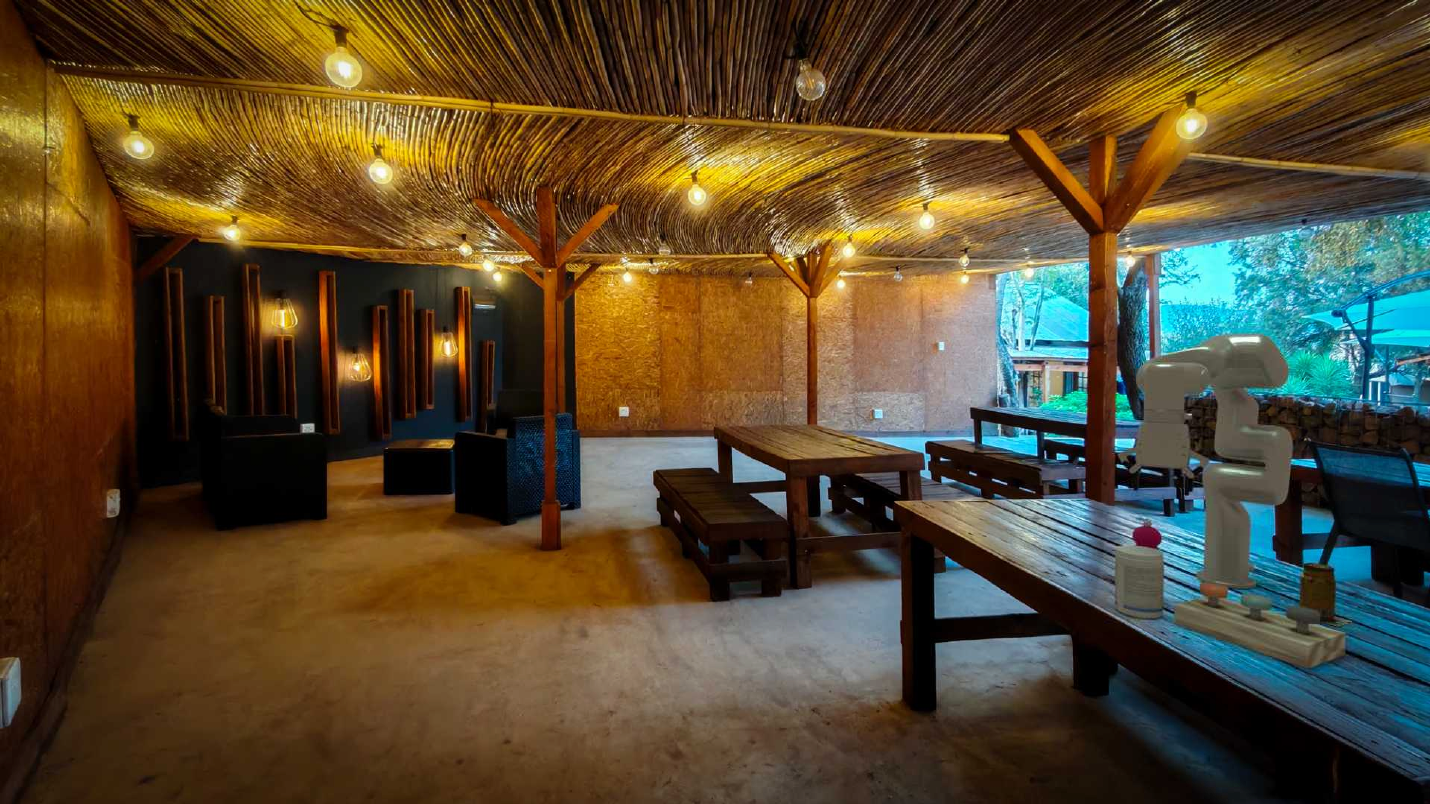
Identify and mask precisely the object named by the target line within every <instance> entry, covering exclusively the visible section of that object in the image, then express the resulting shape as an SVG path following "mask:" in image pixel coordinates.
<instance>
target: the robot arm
mask: <svg viewBox="0 0 1430 804" xmlns="http://www.w3.org/2000/svg"><path fill="white" fill-rule="evenodd" d="M1135 375H1136V376H1135V382H1136V386H1137V388H1138V390H1140V392H1142V393H1144V397H1143V398H1144V401H1143V404H1144V405H1143V422H1139V428H1138V432H1137V437H1136V445H1135V446H1134V447H1131V448H1128V449H1125V450H1123V451H1120V452H1118V453H1117V457H1118V459H1119V460H1120V462H1121V464H1122V466H1124V468H1125V469H1126V470H1128V472H1129V473H1130V487H1133V491H1135V492H1136V491H1138V490H1139V489H1140V472H1139V469H1141V468H1142V467H1146V468H1147V467H1149V468H1161V469H1177V470H1180V469H1181V471H1182V473H1184V474H1185V478H1184V496H1185V497H1187V496H1189V495H1190V493H1194V478H1195V477H1197V476H1198V475H1200V474H1201V473H1202V485H1203V493H1204V498H1205V499H1204V500H1205V519H1204V521H1205V522H1204V525H1205V526H1204V543H1203V544H1204V546H1203V547H1204V548H1203V552H1204V553H1203V570H1199V571H1196V574H1195V577H1196V578H1197V579H1198V580H1199V581H1201V582H1202V583H1215V584H1220V585H1223V586H1226V587H1227V588H1228V589H1241V590H1244V589H1245V590H1247V589H1253V588H1255V587H1257V581H1256V580H1255V579H1254V578H1251V577H1249V576H1250V572H1254V571H1255V570H1256V569H1255V566H1254V565H1253V564H1250V552H1251V551H1250V550H1251V531H1252V530H1251V527H1252V520H1251V516H1250V514H1249V512H1248V510H1247V509H1246V507H1245V506H1243V504H1242V502H1243V503H1249V504H1250V503H1251V504H1259V505H1267V506H1279V505H1282V504H1283V503H1284V502H1286V499H1287V497H1288V493H1289V486H1290V477H1291V468H1292V462H1293V461H1292V460H1293V451H1294V449H1293V448H1294V447H1293V446H1294V445H1293V437H1292V435H1291V432H1290V431H1289V430H1288V429H1287V428H1285V427H1284V426H1283V427H1282V426H1278V425H1271V424H1270V425H1268V424H1258V423H1259V421H1258V419H1259V410H1260V408H1259V407H1260V406H1259V404H1258V402H1257V400H1256V399H1255V398H1254V396H1252V394H1251V393H1249V392H1248V391H1247V389H1256V390H1257V389H1258V390H1259V389H1261V390H1274V389H1275V390H1276V389H1279V388H1281V387H1283V386H1284V385H1285V384H1287V382H1288V380H1289V375H1290V369H1289V364H1288V362H1287V359H1286V358H1285V356H1284V355H1283V353H1282V351H1281V350H1280V349H1279V347H1278V346H1277V344H1276V343H1275V342H1274V340H1273V339H1272V338H1270V337H1269V336H1268V335H1265V334H1264V333H1234V334H1233V333H1231V334H1218V335H1214V336H1212V337H1210V338H1207V339H1206V340H1205V341H1203V342H1201V343H1200V344H1198V345H1196V346H1194V347H1190V348H1187V349H1182V350H1177V351H1174V352H1168V353H1166V354H1165V353H1163V354H1160V355H1157V356H1155V357H1152V358H1150V359H1149V360H1147V361H1145V362H1144V363H1143V364H1141V366H1140V367H1139V368H1138V370H1137V373H1136V374H1135ZM1209 387H1210V388H1211V391H1212V392H1213V394H1214V396H1215V399H1216V402H1217V419H1216V425H1215V426H1216V427H1215V433H1214V434H1215V435H1214V443H1213V444H1214V451H1215V453H1216V454H1217V455H1218V456H1220V457H1223V458H1226V459H1232V460H1239V461H1240V460H1242V461H1251V462H1252V461H1253V462H1262V463H1263V464H1265V466H1256V465H1247V464H1238V463H1227V462H1219V463H1212V464H1210V465H1209V463H1210V458H1208V457H1206V456H1203V455H1201V454H1200V453H1197V452H1196V451H1193V450H1192V449H1191V437H1190V430H1189V425H1188V424H1186V423H1184V422H1185V421H1188V420H1192V418H1193V415H1192V413H1188V412H1186V411H1185V396H1195V395H1196V396H1197V395H1200V394H1202V393H1204V392H1205V391H1206V390H1207V389H1209ZM1133 454H1135V455H1134V457H1135V464H1134V465H1133V464H1132V463H1131V461H1129V460H1128V457H1127V456H1130V455H1133ZM1191 458H1192V459H1194V460H1196V461H1198V462H1199V464H1198V466H1196V467H1195V468H1194V469H1192V468H1191V467H1190V466H1189V465H1190V463H1191Z"/></svg>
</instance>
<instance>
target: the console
mask: <svg viewBox="0 0 1430 804" xmlns="http://www.w3.org/2000/svg"><path fill="white" fill-rule="evenodd" d="M1173 611H1174V614H1173V616H1174V617H1173V618H1174V619H1173V625H1175V626H1178V627H1181V628H1183V629H1186V630H1187V629H1188V630H1190V631H1194V632H1197V633H1199V634H1202V635H1205V636H1209V637H1210V638H1214V639H1217V640H1221V641H1223V642H1225V643H1226V642H1227V643H1230V644H1232V645H1235V646H1238V647H1242V648H1244V649H1247V650H1251V651H1252V652H1256V653H1259V654H1263V655H1265V656H1268V657H1271V658H1274V659H1277V660H1280V661H1283V662H1286V663H1289V664H1292V665H1295V666H1297V667H1301V668H1304V669H1307V670H1308V669H1311V668H1314V667H1316V666H1319V665H1322V664H1324V663H1327V662H1330V661H1333V660H1336V659H1338V658H1341V657H1343V656H1345V655H1346V634H1347V633H1346V632H1344V631H1340V630H1337V629H1333V628H1331V627H1326V626H1323V625H1319V624H1309V628H1308V636H1307V635H1304V634H1300V633H1297V632H1296V623H1297V621H1293V620H1291V619H1289V618H1287V617H1286V615H1285V614H1279V613H1277V612H1273V611H1271V610H1261V621H1257V620H1253V619H1250V608H1248V607H1245V606H1243V605H1241V602H1237V601H1234V600H1230V599H1228V598H1219V600H1218V608H1217V609H1216V608H1213V607H1209V606H1208V596H1203V597H1199V598H1194V599H1191V600H1187V601H1183V602H1179V603H1175V604H1174V610H1173Z"/></svg>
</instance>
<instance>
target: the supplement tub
mask: <svg viewBox="0 0 1430 804" xmlns="http://www.w3.org/2000/svg"><path fill="white" fill-rule="evenodd" d="M1114 557H1115V558H1114V561H1115V562H1114V570H1115V572H1114V606H1115V609H1116V610H1117V611H1118V612H1120V613H1121V614H1124V615H1127V616H1130V617H1133V618H1139V619H1157V618H1160V617H1161V616H1162V615H1163V614H1164V588H1165V586H1164V584H1165V583H1164V582H1165V581H1164V580H1165V571H1164V570H1165V561H1164V553H1163V552H1162V551H1161V550H1160V549H1159V550H1156V549H1153V548H1148V547H1142V546H1135V545H1119V546H1117V547H1116V548H1115V556H1114Z"/></svg>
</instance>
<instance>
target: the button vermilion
mask: <svg viewBox="0 0 1430 804" xmlns="http://www.w3.org/2000/svg"><path fill="white" fill-rule="evenodd" d="M1199 594H1201V595H1204V597H1206V596H1208V606H1209V607H1213V608H1216V609H1217V608H1218V600H1219V598H1224V599H1228V597H1229V588H1228V587H1226V586H1223V585H1220V584H1215V583H1206V582H1201V583H1199Z"/></svg>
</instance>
